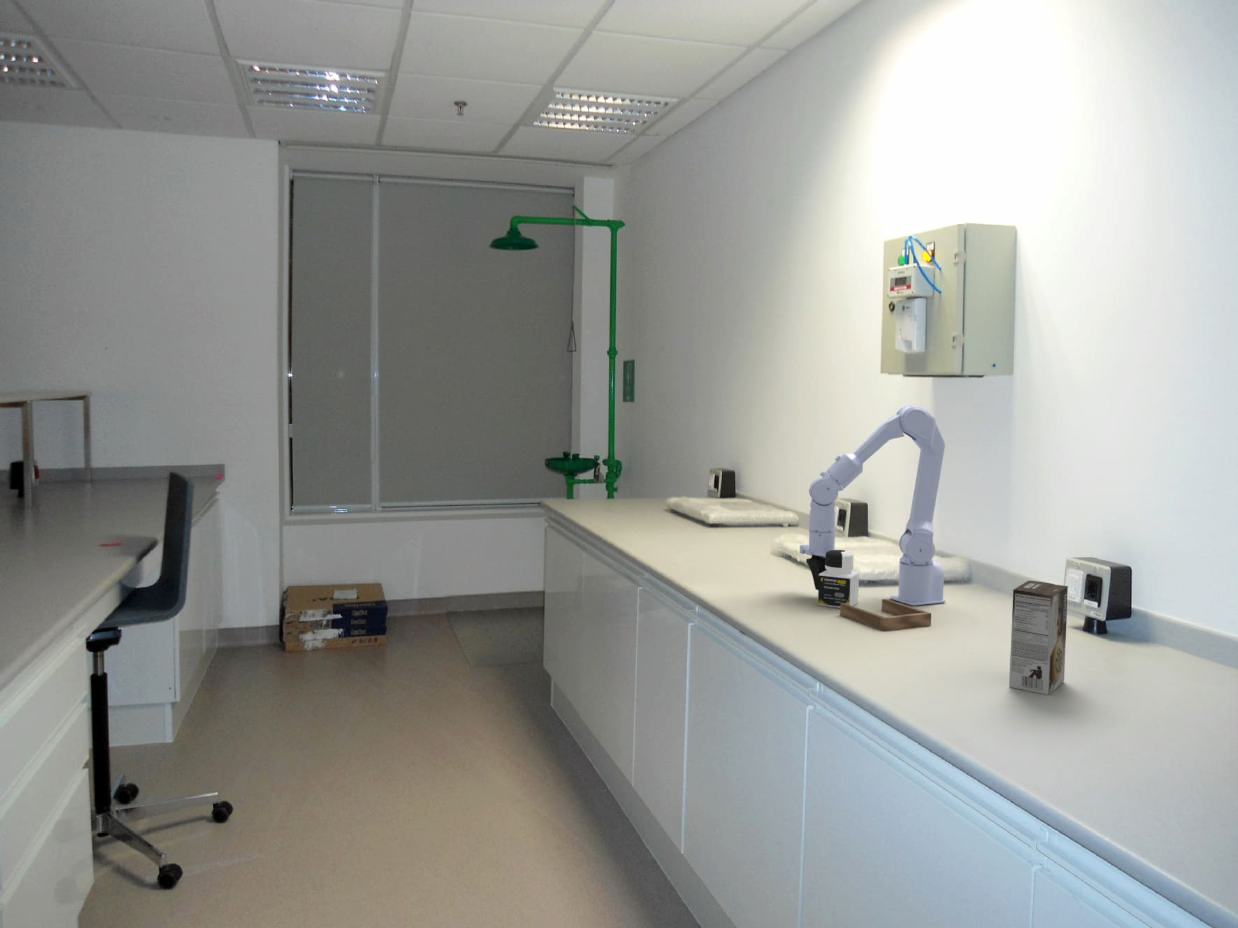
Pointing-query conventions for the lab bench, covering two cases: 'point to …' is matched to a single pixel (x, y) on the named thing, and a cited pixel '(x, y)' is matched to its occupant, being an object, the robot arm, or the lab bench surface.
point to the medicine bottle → (838, 580)
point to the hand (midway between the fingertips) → (820, 589)
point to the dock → (904, 618)
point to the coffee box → (1038, 637)
